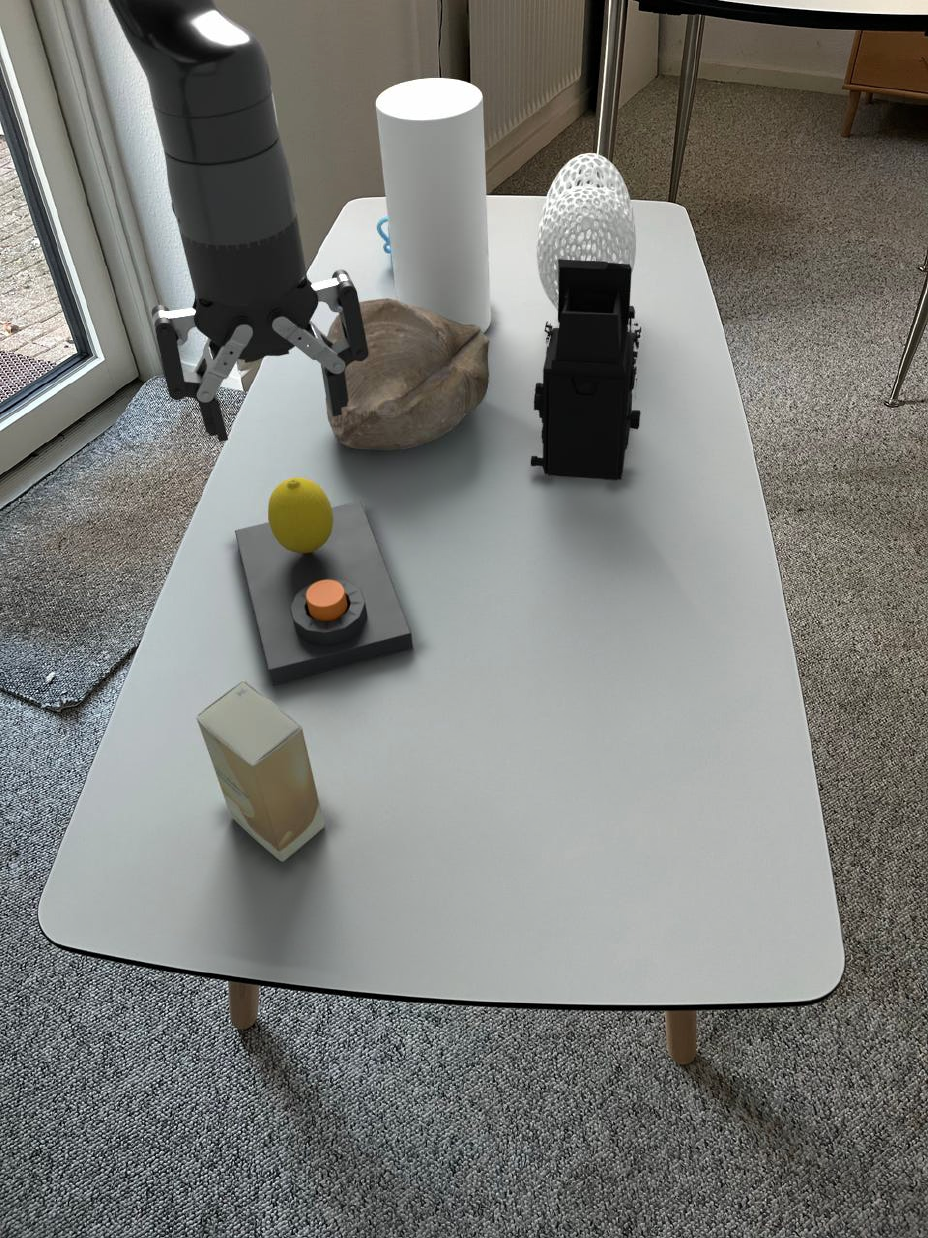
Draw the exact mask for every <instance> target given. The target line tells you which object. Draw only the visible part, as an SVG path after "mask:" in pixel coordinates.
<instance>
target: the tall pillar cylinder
mask: <svg viewBox="0 0 928 1238" xmlns="http://www.w3.org/2000/svg"><path fill="white" fill-rule="evenodd" d="M375 111H376V121H377V130H378V139H379V148H380V157H381V166H382V167H381V168H382V177H383V186H384V194H385V196H384V197H385V205H386V214H387V215H386V216H388V222H387V225H388V224H389V233H390V242H391V252H392V261H393V270H392V271H393V279H394V287H395V289H394V290H395V296H396V297H395V299H396V300H397V301H400V302H402V303H404V304H407V305H409V306H412V307H418V308H423V309H426V310H429V311H431V312H433V313H436V314H437V315H439V316H442V317H444V318H446V319H449V320H451V321H454V322H457V323H460V324H464V325H469V324H473V325H476V326H479V327H480V330H481V331H482V332H483V334H484V333H485V332H486V331H487V330H488V329H489V327H490V326H491V322H492V309H491V307H492V306H491V283H490V281H491V280H490V279H491V277H490V253H489V229H488V228H489V226H488V203H487V202H488V199H487V198H488V197H487V175H486V174H487V173H486V172H487V171H486V149H485V148H486V147H485V146H486V145H485V122H484V121H485V120H484V118H485V117H484V97H483V93H482V91H481V90H480V89H479V88H478V87H477V86H476V85H474V84H472V83H469V82H467V81H463V80H460V79H455V78H454V79H453V78H445V77H444V78H443V77H431V78H429V77H428V78H420V79H414V80H409V81H404V82H401V83H397V84H395V85H393V86H391V87H388V88H387V89H385V90H384V91H383V92H381V93H380V94H379V95H378V97H377V98H376V100H375Z"/></svg>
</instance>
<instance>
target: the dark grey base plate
mask: <svg viewBox="0 0 928 1238" xmlns="http://www.w3.org/2000/svg"><path fill="white" fill-rule="evenodd" d="M331 508H332V513H333V527H332V532H331V535H330V536H329V538H328V540H327V541H326V543H325V544H324V545H323V546H322V547H320V548H319V549H317V550H315V551H313V552H309V553H295V552H292V551H290V550H288V549H286V548H284V547H283V546H282V545H281V544H280V543H279V542H278V541H277V540H276V538H275V537H274V535H273V533H272V530H271V527H270V524H269V521H268V522H264V523H260V524H255V525H251V526H248V527H243V528H239V529H235V530H234V533H235V539H236V542H237V547H238V550H239V555H240V559H241V563H242V567H243V572H244V575H245V580H246V585H247V588H248V593H249V596H250V601H251V604H252V609H253V613H254V618H255V622H256V626H257V629H258V633H259V638H260V641H261V645H262V650H263V654H264V658H265V662H266V667H267V671H268V674H269V679H270V681H271V684H272V685H274V686H275V685H278V684H282V683H286V682H289V681H290V682H291V681H294V680H297V679H301V678H304V677H308V676H312V675H316V674H320V673H324V672H327V671H328V672H329V671H331V670H335V669H339V668H343V667H347V666H349V665H354V664H358V663H362V662H365V661H370V660H372V659H377V658H381V657H385V656H388V655H392V654H396V653H400V652H404V651H408V650H412V649H414V644H413V643H414V642H413V637H412V636H413V635H412V631H411V629H410V626H409V623H408V621H407V618H406V616H405V613H404V610H403V608H402V604H401V601H400V600H399V597H398V595H397V592H396V589H395V586H394V584H393V581H392V578H391V577H390V574H389V571H388V568H387V565H386V563H385V560H384V557H383V554H382V553H381V549H380V547H379V544H378V541H377V539H376V536H375V533H374V530H373V528H372V526H371V523H370V520H369V518H368V515H367V512H366V509H365V507H364V505H363V501H362V500H357V501H356V500H355V501H352V502H349V503H344V504H340V505H336V506H331ZM321 580H334V581H337V582H339V583H340V584H341V585H342V586H343V587H344V590H345V595H346V601H347V609H346V611H345V613H344V614H343V615H342V616H341V617H339V618H337V619H335V620H332V621H319V620H317V619H315V618H313V617H312V616H311V614H310V612H309V609H308V604H307V600H306V592H307V590H308V588H309V587H310V586H311V585H312V584H314V583H316V582H318V581H321Z"/></svg>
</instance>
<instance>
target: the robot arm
mask: <svg viewBox="0 0 928 1238" xmlns="http://www.w3.org/2000/svg"><path fill="white" fill-rule="evenodd" d="M107 1H108V3H109V5H110V7H111V9H112V11H113V13H114V16H115V18H116V20H117V22H118V24H119V26H120V28H121V30H122V32H123V35H124V37H125V39H126V40H127V43H128V45H129V46H130V48H131V50H132V52H133V53H134V55H135V58H136V59H137V62H138V63H139V65H140V67H141V68H142V71H143V72H144V75H145V76H146V80H147V84H148V88H149V92H150V99H151V102H152V107H153V111H154V116H155V120H156V125H157V128H158V132H159V136H160V140H161V144H162V148H163V155H164V158H165V166H166V175H167V176H166V177H167V183H168V184H167V185H168V190H169V195H170V198H171V208H172V209H171V210H172V212H173V214H174V217H175V220H176V223H177V227H178V232H179V235H180V240H181V245H182V248H183V252H184V256H185V259H186V264H187V268H188V272H189V277H190V280H191V284H192V288H193V293H194V301H193V303H192V307H191V308H183V309H176V310H170V309H169V308H168V307H167V306H165V305H163V304H157V305H155V306H154V307H153V308H152V309H151V319H152V323H153V327H154V333H155V337H156V343H157V347H158V351H159V356H160V361H161V365H162V370H163V371H162V372H163V375H164V380H165V385H166V388H167V392H168V396H169V397H170V398H171V399H172V400H174V401H181V400H183V399H185V398H190V399H194V400H195V401H196V402H197V404H198V406H199V411H200V413H201V414H200V415H201V417H202V421H203V425H204V429H205V432H206V434H208V436H209V437H214V436H216V437H217V439H218V442H219V443H221V442H226V441H229V437H228V436H229V435H228V433H227V428H226V425H225V420H224V417H223V411H222V409H221V404H220V401H219V396H218V394H217V392H218V391H219V388H220V387H221V386H222V384H223V382H224V380H227V379H228V378H229V376H230V374H231V372H232V371H233V369H234V367H235V366H236V364H237V362H238V360H241V361H244V363H245V364H248V363H253V362H256V361H257V362H258V361H259V360H261V359H263V358H265V357H281V356H285V355H290V351H291V350H293V349H294V348H297V349H298V350H299V351H301V352H302V353H303V354H305V356H307V357H309V359H311V360H312V361H317V362H318V363H319V364H320V368H321V375H322V381H323V382H322V383H323V387H324V393H325V401H326V400H327V404H328V407H329V409H330V412H331V414H332V416H333V417H335V416H339V415H342V410H341V408H342V407H347V404H348V401H349V399H348V392H347V385H346V378H345V369H346V367H347V366H348V365H349V364H350V363H352V362H353V361H355V360H356V361H363V360H365V359H366V358H367V357H368V355H369V351H368V346H367V341H366V336H365V331H364V325H363V320H362V315H361V310H360V305H359V302H360V299H359V295H358V291H357V288H356V286H355V285H354V283H353V281H352V279H351V276H350V275H349V273H348V272H347V271H346V270H345V269H337V270H335V271H334V272H333V273H332V275H331V278H330V279H327V280H322V281H319V282H315V283H312V281H310V279H309V278H308V274H307V268H306V261H305V255H304V250H303V249H304V248H303V243H302V236H301V230H300V224H299V218H298V211H297V206H296V199H295V193H294V187H293V180H292V175H291V170H290V166H289V162H288V158H287V155H286V152H285V149H284V146H283V141H282V137H281V133H280V128H279V123H278V122H279V121H278V116H277V115H278V114H277V110H276V104H275V103H276V102H275V97H274V91H273V85H272V83H273V82H272V79H271V77H272V76H271V72H270V68H269V67H270V66H269V63H268V59H267V55H266V51H265V49H264V46H263V45H262V43H261V42H260V41H259V40H258V38H257V36H255V35H254V34H253V33H252V32H251V31H249V30H248V29H246V28H245V27H243V26H242V25H240V24H238V23H236V22H235V21H234V20H233V19H231V18H229V17H228V16H227V15H225V14H224V13H223V12H222V10H221V9H220V8H219V7H218V6H217V4H216V3H215V0H107ZM322 302H323V303H325V304H326V305H327V306H328V308H329V310H330V311H331V312H333V313H338V315H340V320H341V325H342V330H343V334H344V338H342V339H341V340H339V341H337V342H335V343H334V342H333V341H331V340H330V339H329V338H328V337H327V336H326V335H325V334H324V333H323V332H322V331H321V330H320V329H319V328H318V327H317V326H316V324H315V323H314V322H312V321H311V320H312V318H313V316H314V314H315V312H316V310H317V309H318V306H319V303H322ZM193 328H196V329H197V330H198V331H199V332H200V333H201V334H203V335H204V336H205V337H206V338H207V340H206V342H205V344H204V346H203V349H202V355H201V357H200V359H199V361H198V363H197V365H196V367H195V369H194V370H193V371H185V370H183V367H182V361H181V357H180V351H179V346H183V345H184V344H185V343H187V341H188V338H189V335H188V334H189V332H190V331H191V330H192V329H193Z"/></svg>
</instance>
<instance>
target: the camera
mask: <svg viewBox="0 0 928 1238" xmlns="http://www.w3.org/2000/svg"><path fill="white" fill-rule="evenodd" d="M631 273H632V274H633V272H632V268H631V266H630V264H621V263H619V264H618V263H609V262H605V261H596V260H595V261H580V260H574V259H573V260H569V259H568V260H562V259H558V310H557V322H558V327H553V326H554V325H552V322H551V323H549V321H546V322H545V325H544V332H545V333H546V334H547V335H546V338H545V344H547V346H546V352H545V359H544V365H543V368H542V382H536V383H535V387H534V398H533V411H538V417H539V419H541V424H542V428H541V443H542V457H538V456H537V455H531V456H530V467H542V468H543V469H542V470H543V472H544V475H547V476H548V477H549V476H550V477H562V478H563V477H564V478H577V479H592V480H604V481H618V480H619V481H622V480H623V473H624V467H625V466H624V465H625V457H626V451H627V449H628V446H629V439H630V431H631V430H639V428H640V424H641V423H640V421H641V410H639V409H635V408H636V407H633V396H634V398H636V397H637V393H635V394H634V395H633V390H634V388H635V386H637V384H638V378H637V377H636V375H637V370H638V365H636V364H637V359H638V357H639V351H638V350H639V348H640V341H639V339H641V337H642V335H641V334H642V326H639V323H637V322H636V323H634V324H632V323H633V321H632V320H635V318H636V309H635V306H634V305H631V293H632V292H631V291H632V290H631V288H632V275H631ZM632 326H635V327H639V329H634V331H633V332H632ZM547 328H548V330H547ZM635 348H636V350H634V349H635ZM635 365H636V366H635ZM635 384H636V385H635ZM633 408H634V409H633Z"/></svg>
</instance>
